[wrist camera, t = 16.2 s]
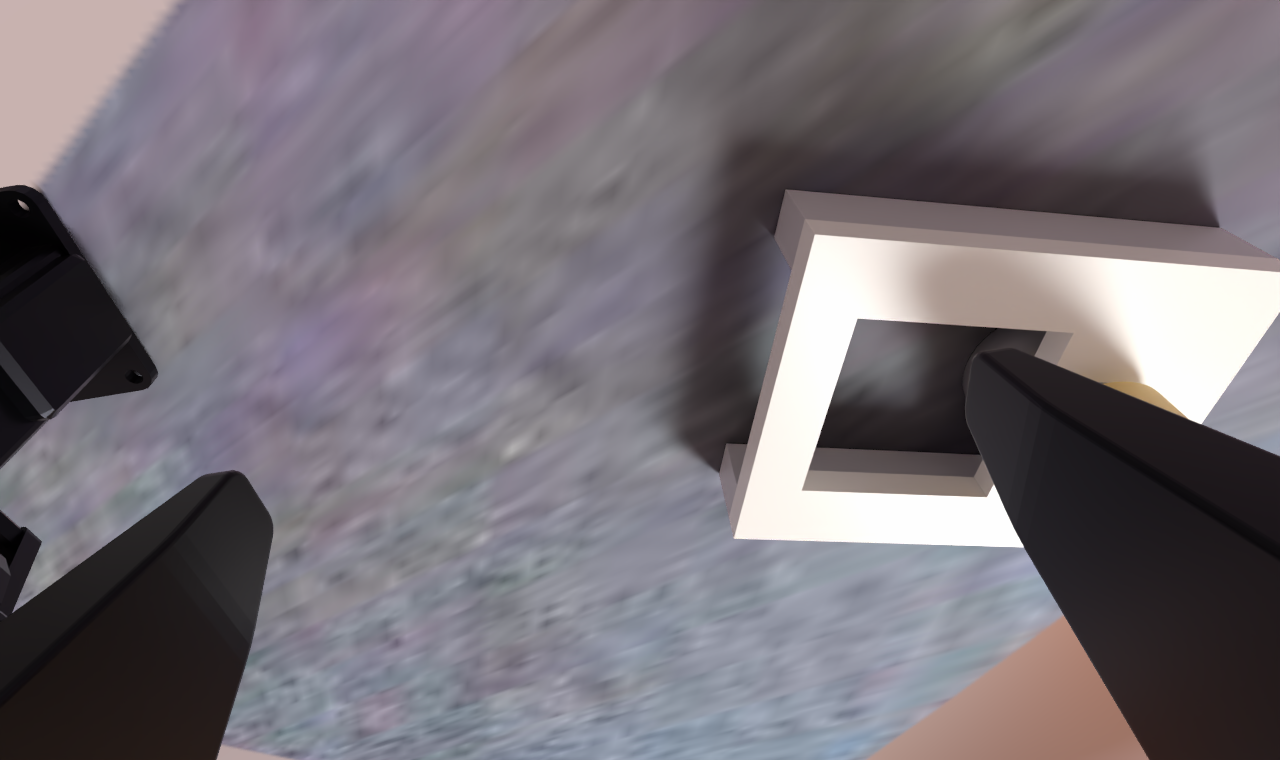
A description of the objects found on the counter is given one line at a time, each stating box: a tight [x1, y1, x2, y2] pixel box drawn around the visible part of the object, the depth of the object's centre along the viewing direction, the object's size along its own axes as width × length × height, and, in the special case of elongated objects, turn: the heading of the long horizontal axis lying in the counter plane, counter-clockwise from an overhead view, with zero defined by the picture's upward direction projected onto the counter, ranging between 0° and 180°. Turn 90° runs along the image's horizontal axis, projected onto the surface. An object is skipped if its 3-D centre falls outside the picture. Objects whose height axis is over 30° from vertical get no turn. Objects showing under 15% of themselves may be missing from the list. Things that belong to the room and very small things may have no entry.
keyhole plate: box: [719, 189, 1280, 547], centre depth 23 cm, size 14×11×3 cm
